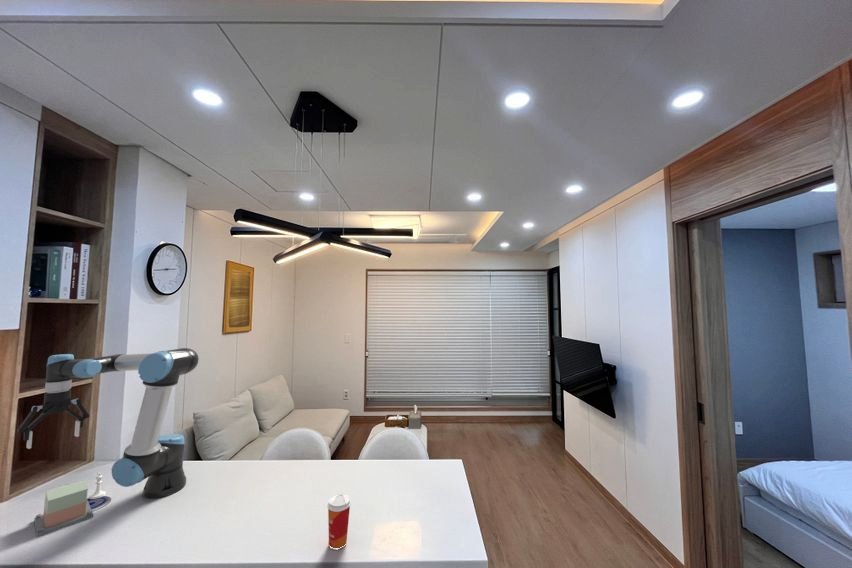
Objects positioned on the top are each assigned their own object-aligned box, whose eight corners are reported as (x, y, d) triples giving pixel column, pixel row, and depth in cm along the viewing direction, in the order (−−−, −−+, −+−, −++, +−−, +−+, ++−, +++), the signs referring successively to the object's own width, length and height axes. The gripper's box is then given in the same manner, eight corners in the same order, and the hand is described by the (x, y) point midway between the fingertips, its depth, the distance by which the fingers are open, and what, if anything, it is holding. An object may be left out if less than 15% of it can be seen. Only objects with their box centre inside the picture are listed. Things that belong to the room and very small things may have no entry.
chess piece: (95, 500, 135) (97, 475, 136) (86, 498, 136) (88, 474, 136) (108, 493, 140) (110, 469, 140) (100, 492, 141) (102, 468, 141)
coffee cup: (328, 536, 116) (330, 493, 118) (351, 535, 117) (352, 492, 118) (323, 553, 108) (324, 507, 109) (347, 552, 109) (349, 507, 110)
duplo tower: (87, 503, 132) (89, 476, 133) (93, 517, 124) (95, 488, 125) (34, 521, 121) (37, 491, 122) (36, 537, 113) (40, 505, 114)
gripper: (94, 383, 150) (91, 430, 148) (8, 396, 128) (3, 451, 126) (101, 385, 146) (97, 433, 145) (14, 399, 124) (8, 455, 123)
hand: (53, 441), depth 136 cm, fingers open, 13 cm apart
